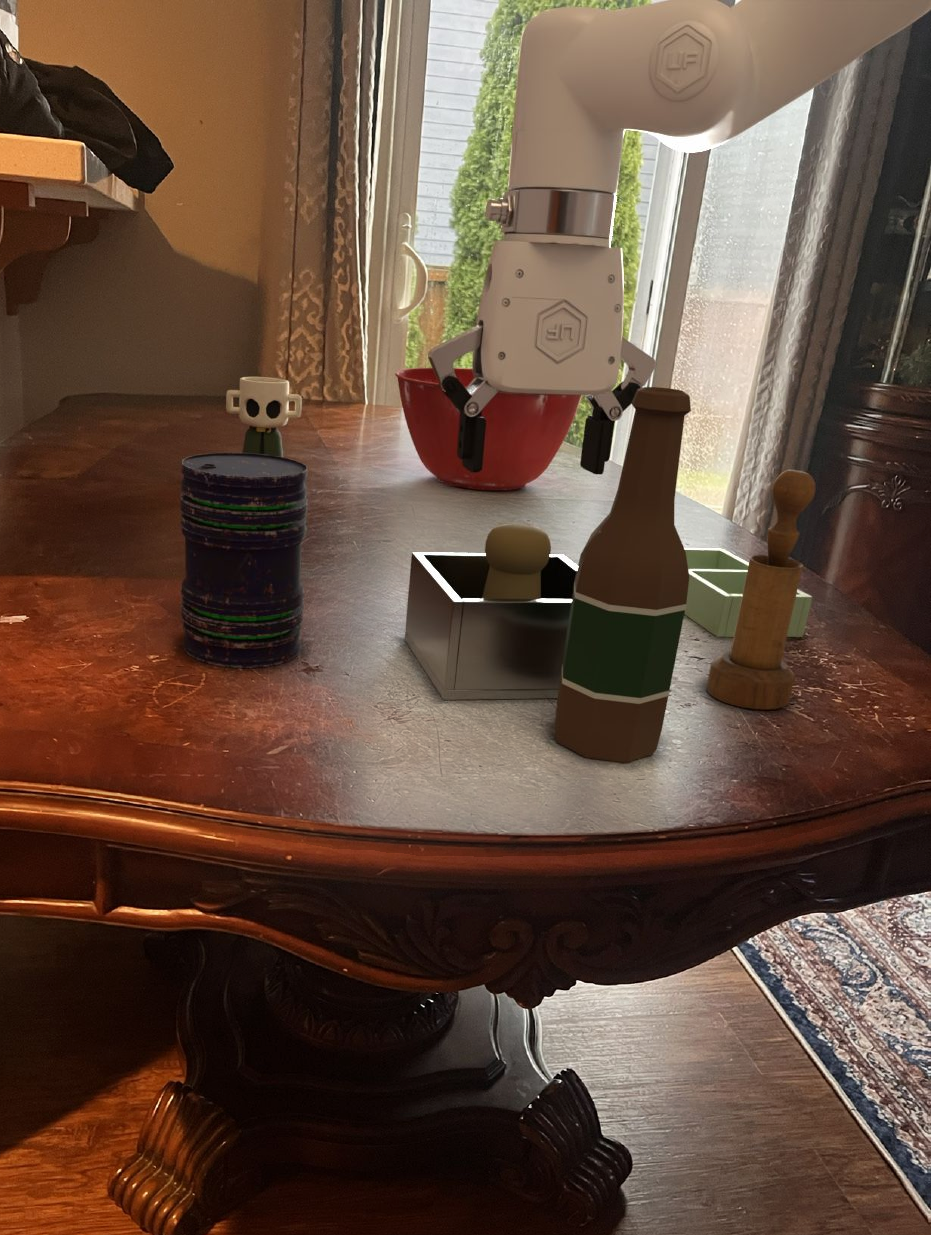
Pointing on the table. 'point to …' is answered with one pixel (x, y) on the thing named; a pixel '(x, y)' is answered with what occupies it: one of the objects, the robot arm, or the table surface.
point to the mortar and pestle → (766, 610)
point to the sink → (487, 628)
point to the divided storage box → (727, 592)
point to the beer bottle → (629, 598)
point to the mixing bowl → (514, 434)
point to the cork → (515, 561)
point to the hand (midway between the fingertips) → (532, 470)
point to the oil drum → (242, 558)
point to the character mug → (263, 412)
